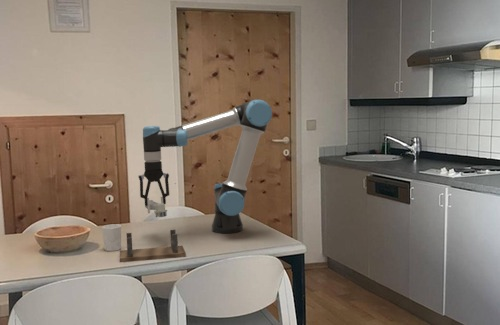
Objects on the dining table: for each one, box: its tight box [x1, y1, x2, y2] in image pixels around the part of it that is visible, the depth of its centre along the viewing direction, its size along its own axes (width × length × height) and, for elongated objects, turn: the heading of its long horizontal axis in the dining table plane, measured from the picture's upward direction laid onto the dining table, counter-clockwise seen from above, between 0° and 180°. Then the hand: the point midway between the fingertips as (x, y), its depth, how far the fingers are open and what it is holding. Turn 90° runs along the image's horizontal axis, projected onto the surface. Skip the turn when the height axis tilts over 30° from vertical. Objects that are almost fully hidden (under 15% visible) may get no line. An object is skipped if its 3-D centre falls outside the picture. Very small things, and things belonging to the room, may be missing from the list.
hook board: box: [119, 229, 187, 263], centre depth 226 cm, size 26×12×9 cm, turn 103°
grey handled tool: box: [144, 199, 168, 218], centre depth 247 cm, size 5×7×25 cm
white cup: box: [101, 223, 122, 252], centre depth 236 cm, size 8×8×10 cm
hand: (155, 212), depth 248 cm, fingers closed on grey handled tool, 5 cm apart
